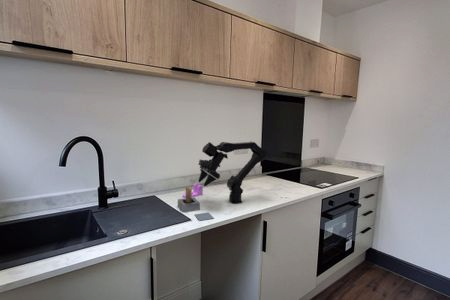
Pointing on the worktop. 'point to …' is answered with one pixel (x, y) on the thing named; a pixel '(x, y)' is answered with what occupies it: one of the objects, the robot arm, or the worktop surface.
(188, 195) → the walnut peg
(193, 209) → the grey socket block
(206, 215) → the rubber mat
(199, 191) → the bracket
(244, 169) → the robot arm
